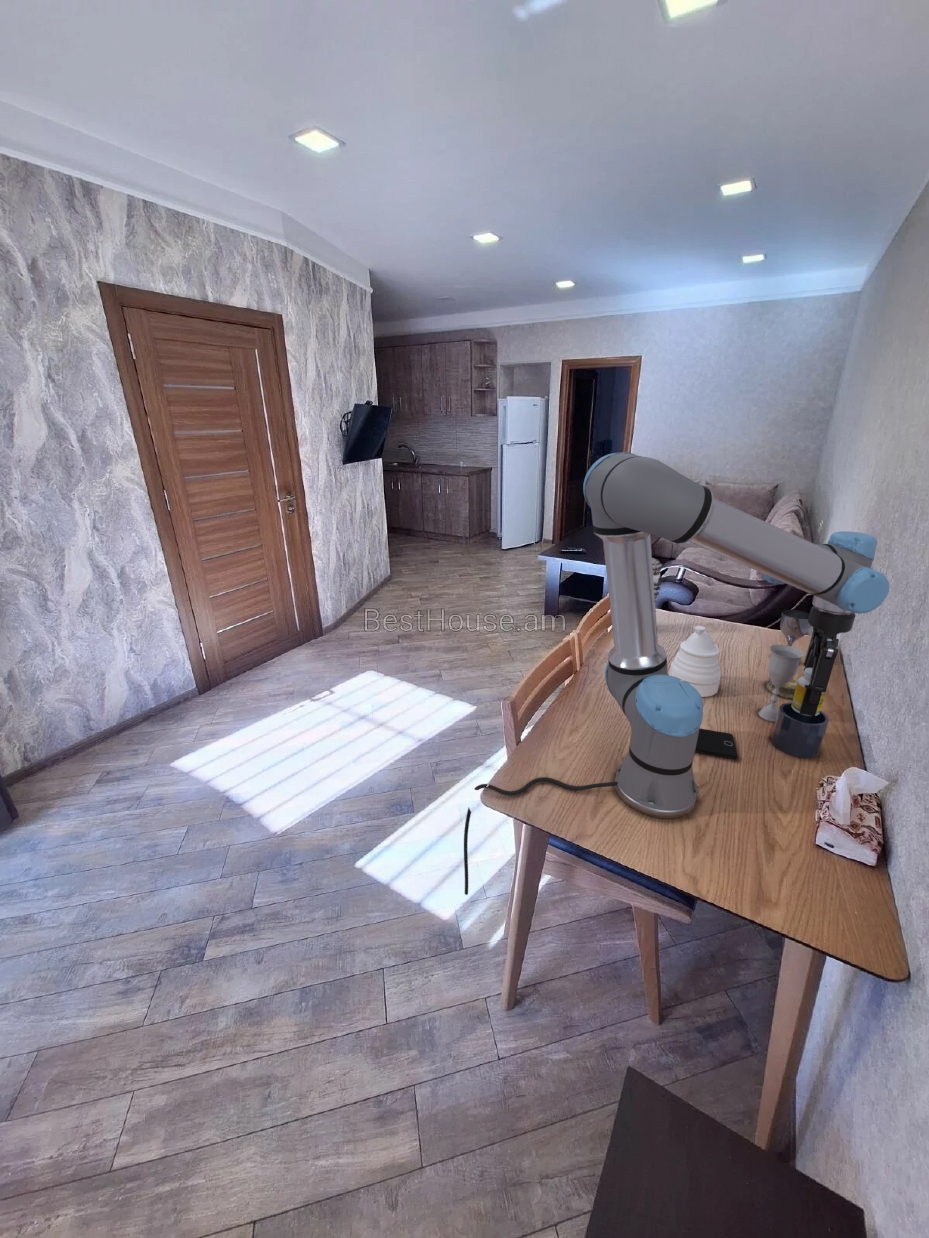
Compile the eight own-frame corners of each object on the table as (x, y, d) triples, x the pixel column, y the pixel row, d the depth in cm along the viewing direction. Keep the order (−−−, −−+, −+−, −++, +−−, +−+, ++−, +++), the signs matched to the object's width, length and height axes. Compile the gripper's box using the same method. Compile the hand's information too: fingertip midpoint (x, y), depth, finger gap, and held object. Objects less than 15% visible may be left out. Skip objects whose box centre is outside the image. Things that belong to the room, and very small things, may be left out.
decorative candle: (636, 620, 184) (644, 554, 174) (659, 628, 177) (669, 559, 168) (621, 627, 178) (629, 559, 169) (645, 635, 172) (655, 564, 162)
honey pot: (704, 702, 132) (717, 639, 125) (659, 684, 141) (668, 625, 134) (725, 685, 139) (738, 626, 133) (681, 669, 148) (691, 613, 142)
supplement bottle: (802, 701, 114) (813, 664, 110) (825, 714, 109) (837, 675, 106) (785, 706, 112) (795, 668, 109) (807, 719, 108) (819, 679, 104)
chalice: (790, 725, 121) (809, 659, 115) (760, 722, 123) (776, 656, 116) (779, 709, 128) (796, 645, 121) (750, 706, 129) (765, 643, 123)
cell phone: (737, 759, 109) (738, 756, 109) (650, 744, 115) (650, 740, 114) (731, 737, 117) (732, 733, 117) (650, 723, 122) (650, 720, 122)
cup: (797, 761, 109) (807, 728, 106) (761, 737, 117) (769, 706, 114) (828, 752, 112) (838, 720, 108) (791, 730, 120) (800, 699, 116)
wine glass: (801, 657, 155) (813, 612, 149) (800, 667, 149) (813, 621, 143) (771, 651, 159) (782, 607, 153) (770, 661, 153) (781, 616, 147)
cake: (792, 704, 131) (795, 687, 129) (757, 688, 139) (760, 671, 137) (817, 693, 134) (821, 676, 132) (781, 678, 143) (785, 661, 141)
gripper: (866, 628, 93) (832, 733, 101) (847, 597, 108) (819, 691, 117) (818, 621, 96) (789, 724, 104) (806, 592, 111) (782, 684, 120)
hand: (805, 707), depth 110 cm, fingers closed on supplement bottle, 5 cm apart
